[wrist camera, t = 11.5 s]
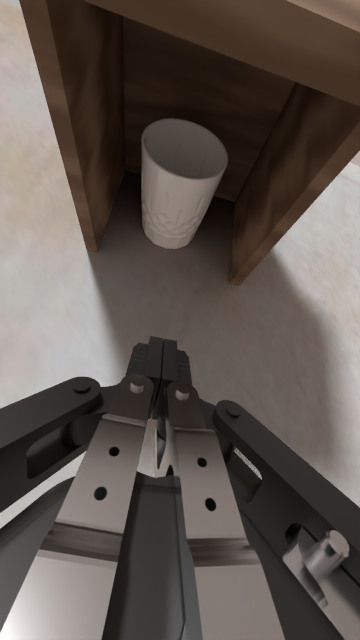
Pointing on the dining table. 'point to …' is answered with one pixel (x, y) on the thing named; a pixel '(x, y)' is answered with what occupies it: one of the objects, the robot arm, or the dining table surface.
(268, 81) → the wooden step stool
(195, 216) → the white cup
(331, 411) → the dining table surface
